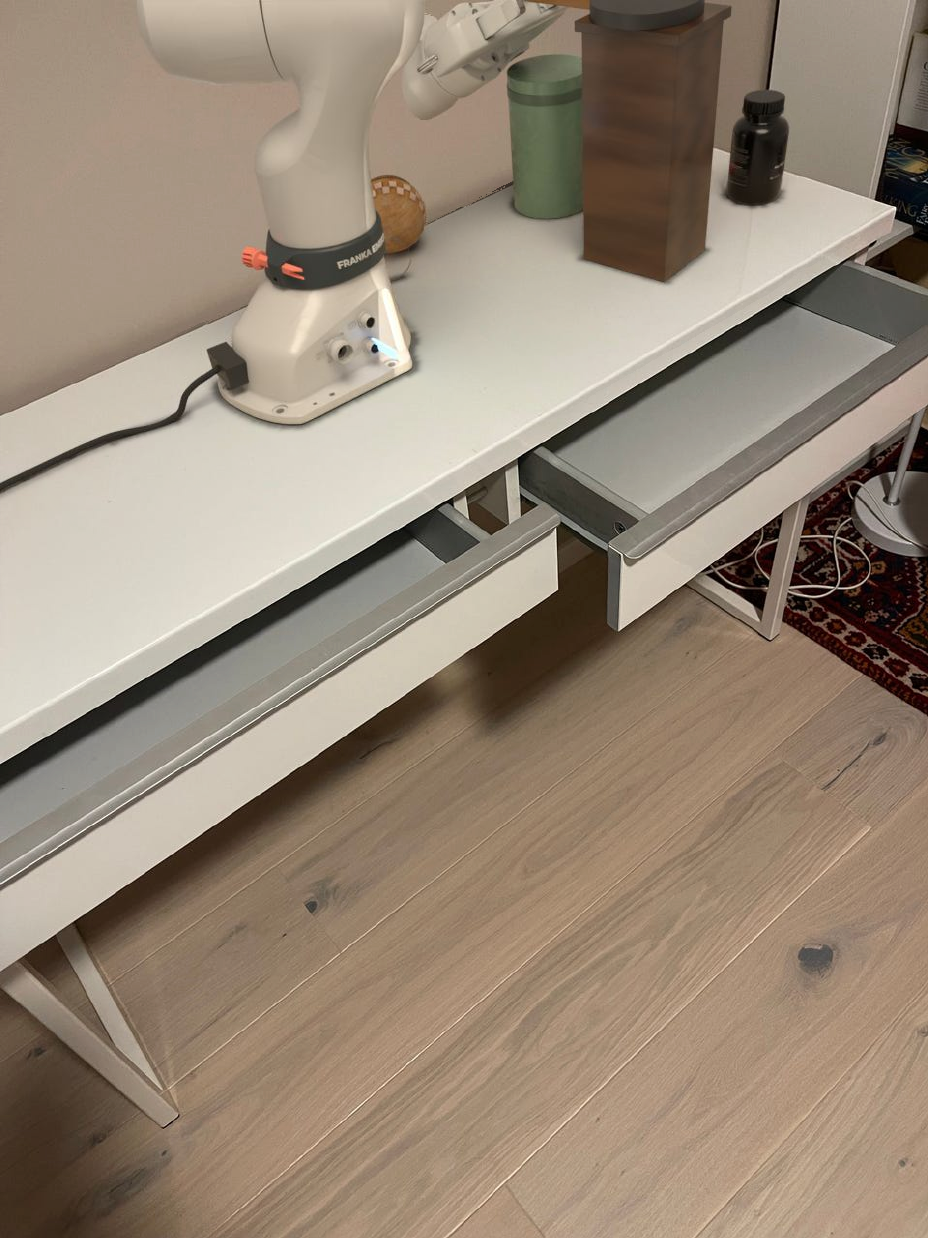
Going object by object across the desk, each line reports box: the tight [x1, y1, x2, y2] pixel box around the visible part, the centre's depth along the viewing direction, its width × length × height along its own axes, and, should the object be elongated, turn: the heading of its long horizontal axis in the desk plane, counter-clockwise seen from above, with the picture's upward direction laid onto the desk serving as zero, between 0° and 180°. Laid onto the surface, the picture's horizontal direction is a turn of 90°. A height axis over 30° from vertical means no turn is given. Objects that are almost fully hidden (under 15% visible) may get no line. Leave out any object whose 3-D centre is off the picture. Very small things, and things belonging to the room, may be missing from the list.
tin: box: [506, 53, 583, 220], centre depth 127 cm, size 10×10×16 cm
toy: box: [371, 174, 427, 282], centre depth 123 cm, size 9×9×15 cm
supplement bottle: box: [726, 89, 790, 206], centre depth 125 cm, size 7×7×12 cm
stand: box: [574, 2, 733, 283], centre depth 112 cm, size 10×12×26 cm
